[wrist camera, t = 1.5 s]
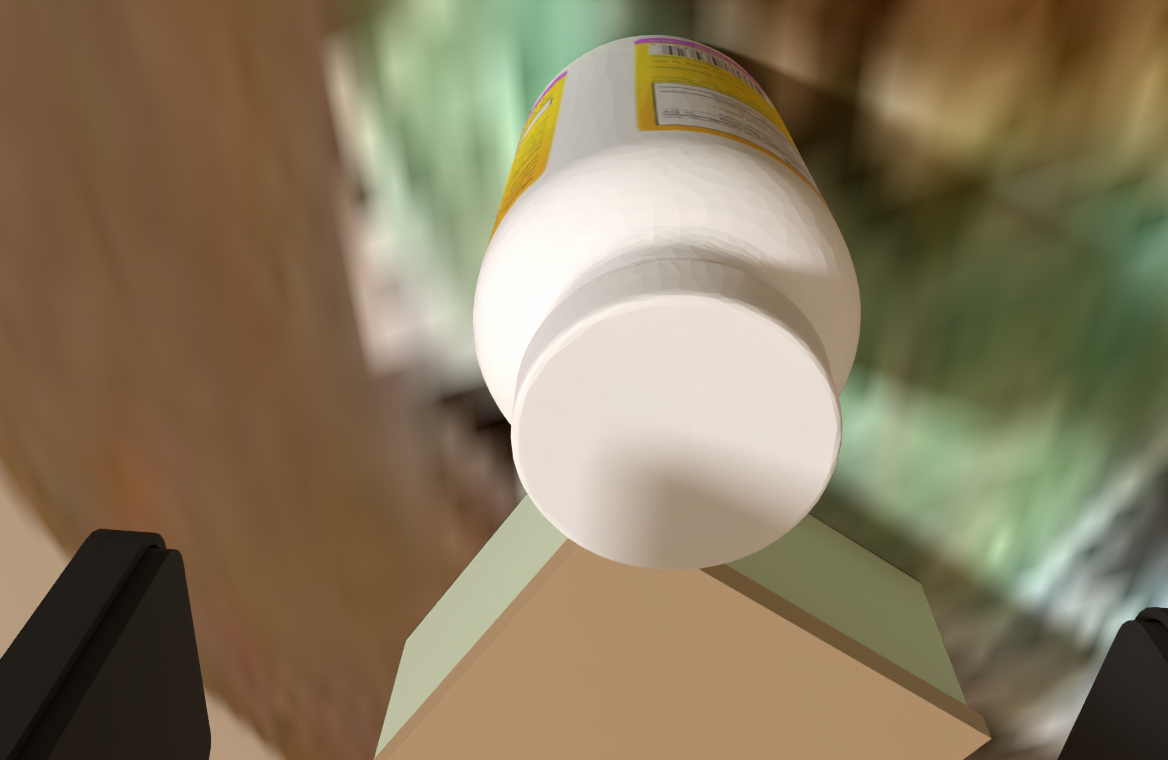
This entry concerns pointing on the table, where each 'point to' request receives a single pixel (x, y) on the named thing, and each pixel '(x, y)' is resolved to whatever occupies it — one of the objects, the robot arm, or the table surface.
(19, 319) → the table surface
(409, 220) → the table surface
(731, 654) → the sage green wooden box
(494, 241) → the supplement bottle
